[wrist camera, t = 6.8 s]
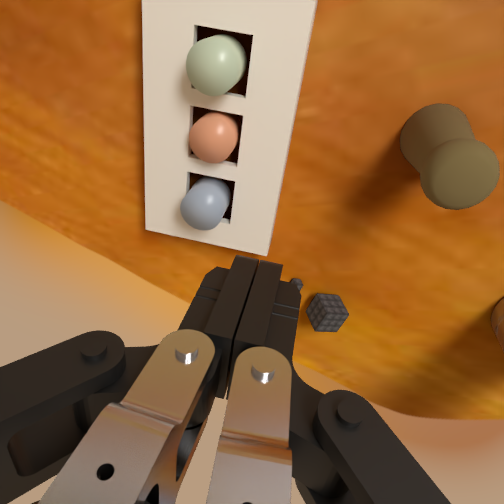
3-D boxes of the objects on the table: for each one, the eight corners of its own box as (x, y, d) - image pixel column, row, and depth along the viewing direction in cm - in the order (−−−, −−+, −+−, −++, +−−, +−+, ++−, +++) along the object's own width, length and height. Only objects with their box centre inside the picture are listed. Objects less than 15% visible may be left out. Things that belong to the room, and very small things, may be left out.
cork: (446, 88, 35) (483, 121, 26) (483, 140, 36) (530, 188, 27) (386, 134, 38) (400, 179, 29) (423, 180, 39) (447, 236, 30)
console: (317, 0, 33) (316, 1, 30) (270, 242, 46) (266, 256, 44) (155, -27, 34) (141, -29, 32) (155, 217, 47) (145, 229, 45)
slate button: (233, 180, 41) (223, 196, 38) (229, 216, 43) (219, 234, 40) (193, 172, 41) (180, 187, 38) (191, 208, 44) (179, 225, 40)
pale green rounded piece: (250, 38, 34) (240, 43, 30) (243, 90, 36) (234, 100, 33) (201, 29, 34) (187, 33, 31) (198, 82, 36) (184, 91, 33)
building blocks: (336, 332, 48) (278, 330, 45) (319, 298, 52) (265, 295, 49) (349, 314, 47) (290, 311, 43) (330, 281, 50) (275, 276, 47)
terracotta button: (244, 111, 39) (235, 122, 35) (239, 153, 41) (230, 167, 38) (202, 103, 39) (189, 114, 36) (200, 145, 41) (187, 158, 38)
